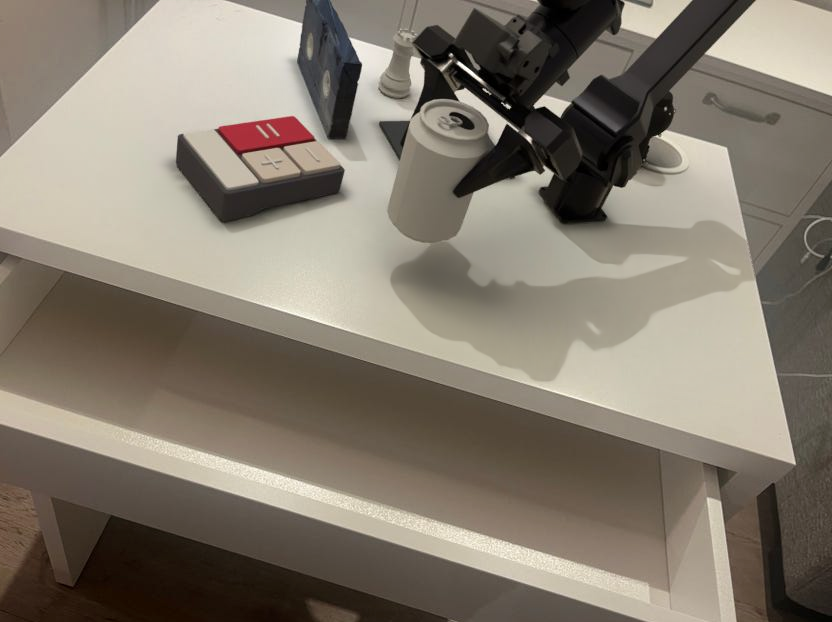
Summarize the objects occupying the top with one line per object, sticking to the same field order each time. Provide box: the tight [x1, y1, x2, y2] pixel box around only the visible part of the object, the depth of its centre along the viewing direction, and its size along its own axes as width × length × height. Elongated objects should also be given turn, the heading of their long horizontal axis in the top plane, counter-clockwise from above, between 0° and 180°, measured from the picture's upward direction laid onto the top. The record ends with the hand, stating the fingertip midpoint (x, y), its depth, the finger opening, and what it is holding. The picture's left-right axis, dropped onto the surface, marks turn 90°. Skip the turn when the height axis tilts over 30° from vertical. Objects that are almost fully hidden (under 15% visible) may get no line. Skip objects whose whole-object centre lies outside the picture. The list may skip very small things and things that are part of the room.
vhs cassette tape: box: [296, 0, 363, 139], centre depth 95 cm, size 18×3×10 cm, turn 13°
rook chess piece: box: [377, 27, 418, 99], centre depth 100 cm, size 4×4×8 cm
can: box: [386, 99, 492, 244], centre depth 71 cm, size 8×8×12 cm
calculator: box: [175, 115, 346, 222], centre depth 83 cm, size 11×4×15 cm
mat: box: [378, 120, 516, 179], centre depth 95 cm, size 14×12×1 cm
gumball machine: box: [638, 90, 677, 167], centre depth 99 cm, size 7×6×10 cm
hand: (428, 170), depth 70 cm, fingers closed on can, 7 cm apart
